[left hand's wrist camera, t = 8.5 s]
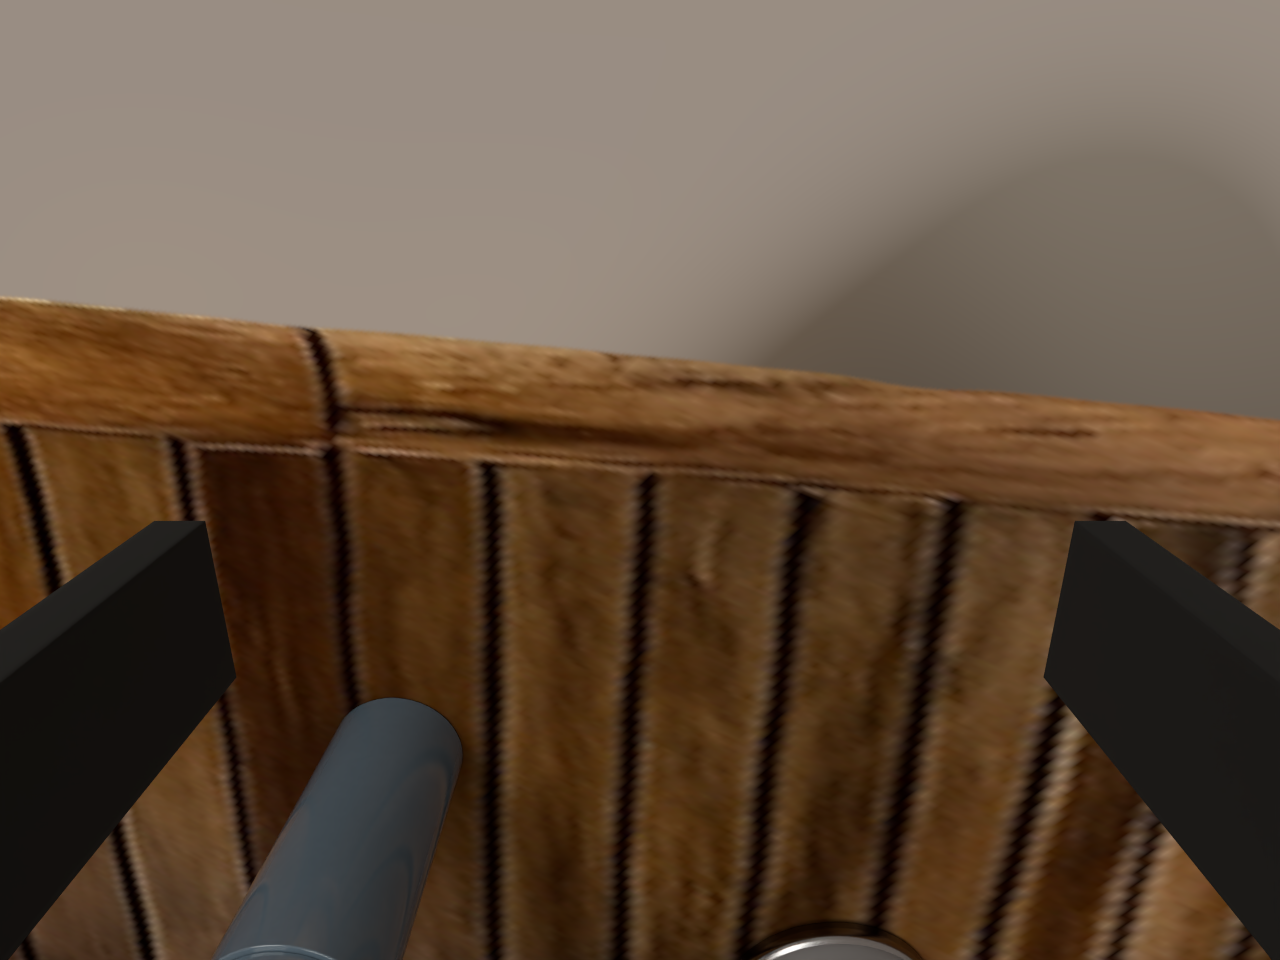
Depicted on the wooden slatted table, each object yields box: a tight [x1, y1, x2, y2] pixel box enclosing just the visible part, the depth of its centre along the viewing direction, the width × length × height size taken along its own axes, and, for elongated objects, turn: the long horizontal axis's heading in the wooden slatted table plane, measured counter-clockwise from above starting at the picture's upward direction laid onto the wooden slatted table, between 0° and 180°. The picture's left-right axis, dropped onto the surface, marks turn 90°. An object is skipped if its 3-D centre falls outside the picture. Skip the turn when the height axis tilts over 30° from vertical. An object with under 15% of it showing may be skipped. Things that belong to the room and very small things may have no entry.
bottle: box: [211, 698, 463, 960], centre depth 40 cm, size 8×8×23 cm
